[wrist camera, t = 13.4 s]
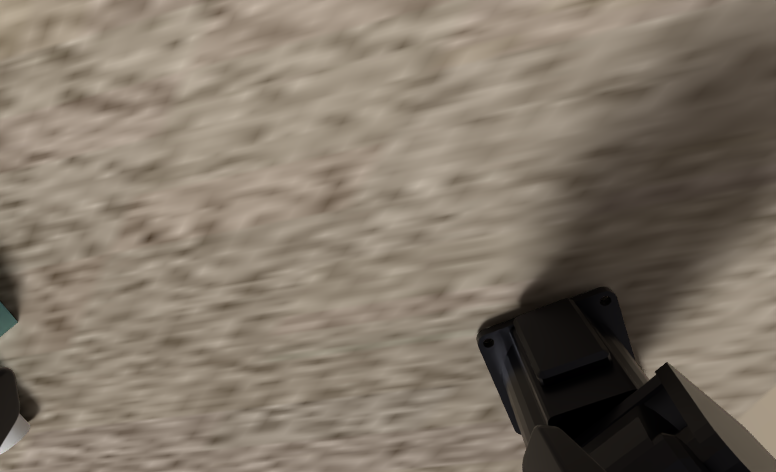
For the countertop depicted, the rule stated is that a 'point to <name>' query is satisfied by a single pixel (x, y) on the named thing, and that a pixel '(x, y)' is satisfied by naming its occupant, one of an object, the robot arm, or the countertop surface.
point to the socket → (3, 321)
